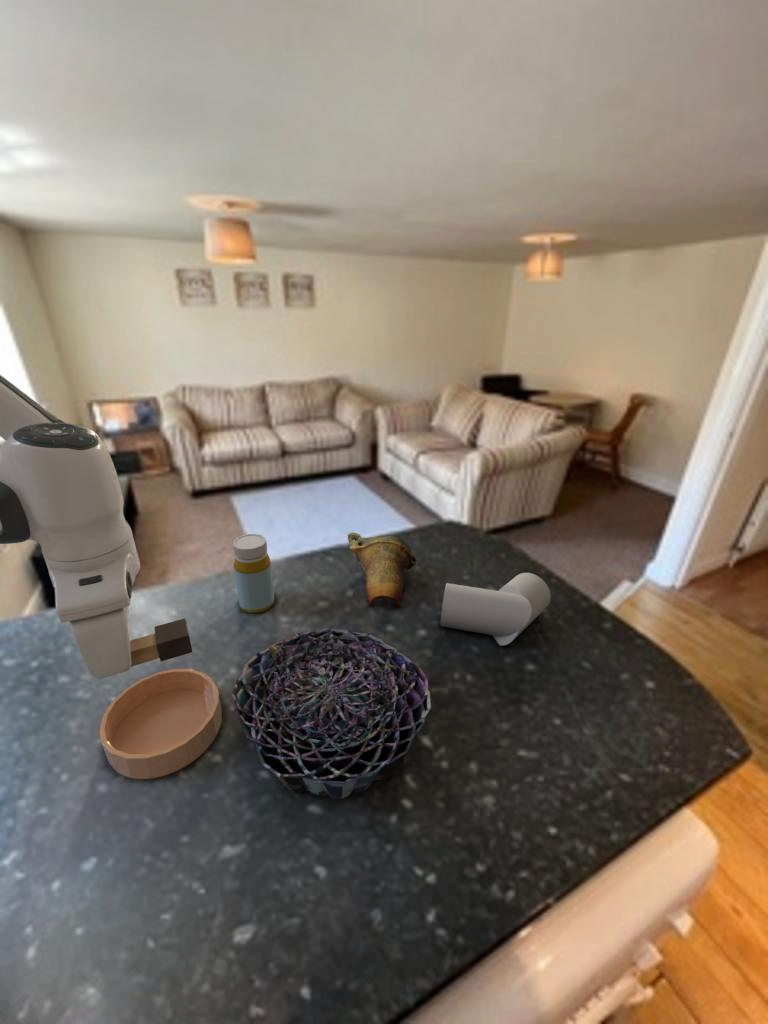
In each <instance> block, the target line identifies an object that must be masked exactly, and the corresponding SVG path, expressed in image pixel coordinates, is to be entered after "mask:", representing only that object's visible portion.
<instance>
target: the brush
mask: <svg viewBox="0 0 768 1024" xmlns="http://www.w3.org/2000/svg"><path fill="white" fill-rule="evenodd" d="M187 622H188V621H187V618H181V619H177V620H173V621H170V622H166V623H162V624H159V625H155V626H154V633H152V634H148V635H145V636H142V637H138V638H134V639H130V648H131V668H132V667H135V666H139V665H142V664H145V663H148V662H151V661H155V660H158V659H159V661H160V662H164V661H169V660H171V659H174V658H177V657H181V656H185V655H188V654H191V653H193V646H192V642H191V637H190V631H189V627H188V623H187Z"/></svg>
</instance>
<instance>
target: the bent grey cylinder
mask: <svg viewBox="0 0 768 1024" xmlns="http://www.w3.org/2000/svg"><path fill="white" fill-rule="evenodd" d="M551 599H552V594H551V590H550V588H549V586H548V584H547V583H546V582H545V581H544V580H543V579H542V578H541V577H540V576H538V575H536V574H534V573H531V572H521V573H519V574H517V575H515V576H514V577H513V578H512V579H510V581H509V582H507V583H506V584H505V585H503V586H502V587H501V588H499V589H498V590H495V589H488V588H482V587H475V586H468V585H461V584H455V583H449V582H446V583H445V588H444V593H443V599H442V605H441V614H440V615H441V616H440V627H444V628H449V629H454V630H461V631H465V632H471V633H472V632H473V633H477V634H483V635H489V636H492V637H493V638H494V640H495V641H496V642H497V644H498V646H507V645H509V644H511V643H512V642H513V641H514V640H515V639H516V638H517V637H518V636H520V634H521V633H522V632H523V631H524V630H525V629H526V628H527V627H528V626H529V625H530V624H531V623H532V622H533V621H534V620H535V619H536V618H537V617H538V616H539V615H540V614H542V613H543V612H544V611H545V609H546V608H548V606H549V605H550V604H551Z"/></svg>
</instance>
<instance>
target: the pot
mask: <svg viewBox="0 0 768 1024" xmlns="http://www.w3.org/2000/svg"><path fill="white" fill-rule="evenodd" d="M347 541H348V544H349V549H351V551H352V554H353V555H354V557H355V559H356V561H357V562H358V563H359V564H361V566H362V568H363V571H364V573H365V576H366V577H365V582H366V586H365V587H366V594H367V599H368V602H369V606H372V602H373V600H374V599H376V598H377V597H389V598H391V599H393V600H395V601H396V605H395V606H396V608H399V603H400V600H401V598H402V596H403V588H404V573H405V572H409V571H410V570H411V569H412V568H414V567H416V566H417V565H418V563H417V558H416V557H415V556H414V555H413V554H412V549H411V547H410V546H409V544H408V543H407V542H406V541H405V540H404V539H403V538H401V537H398V536H395V535H394V536H393V535H377V536H373V537H362V536H361V534H360V533H357V532H350V533H348V534H347Z"/></svg>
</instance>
